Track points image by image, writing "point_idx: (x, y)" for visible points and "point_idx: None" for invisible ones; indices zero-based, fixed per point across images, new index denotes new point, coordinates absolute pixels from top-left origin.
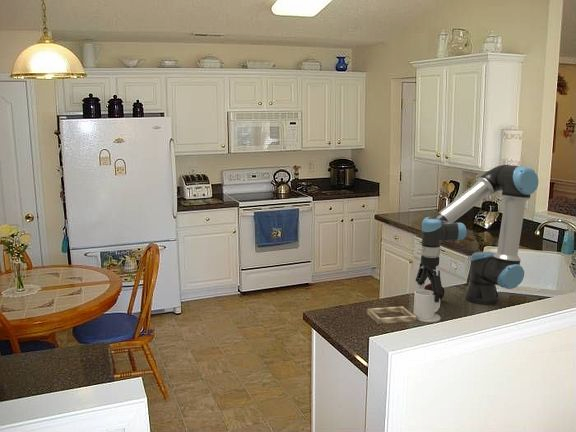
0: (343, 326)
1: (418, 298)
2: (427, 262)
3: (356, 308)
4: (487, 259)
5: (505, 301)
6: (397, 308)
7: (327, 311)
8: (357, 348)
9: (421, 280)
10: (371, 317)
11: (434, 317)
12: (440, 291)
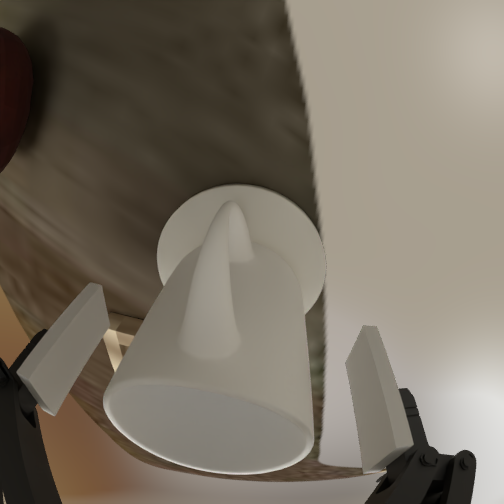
0: None
1: (248, 446)
2: None
3: (99, 404)
4: None
5: None
6: (123, 354)
7: (129, 444)
8: (358, 472)
9: (43, 460)
10: None
11: (278, 244)
12: (455, 482)
